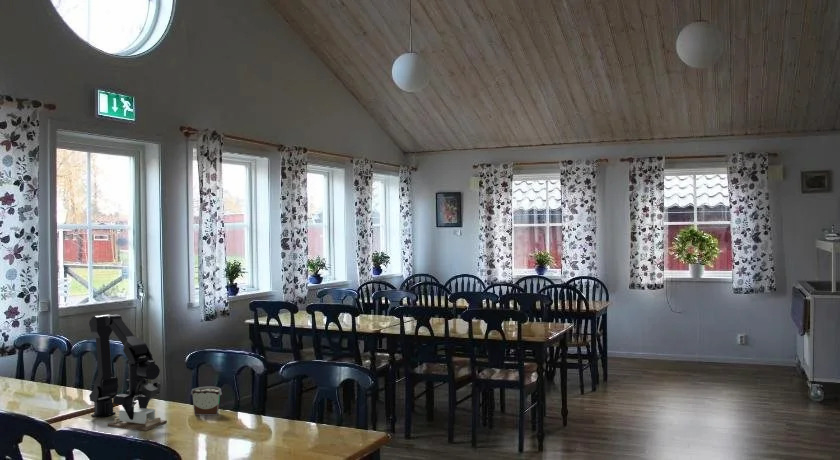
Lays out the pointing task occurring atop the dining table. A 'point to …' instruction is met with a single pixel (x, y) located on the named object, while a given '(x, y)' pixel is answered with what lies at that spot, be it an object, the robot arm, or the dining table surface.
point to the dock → (137, 424)
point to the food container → (206, 400)
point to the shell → (137, 415)
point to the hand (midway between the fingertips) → (137, 417)
